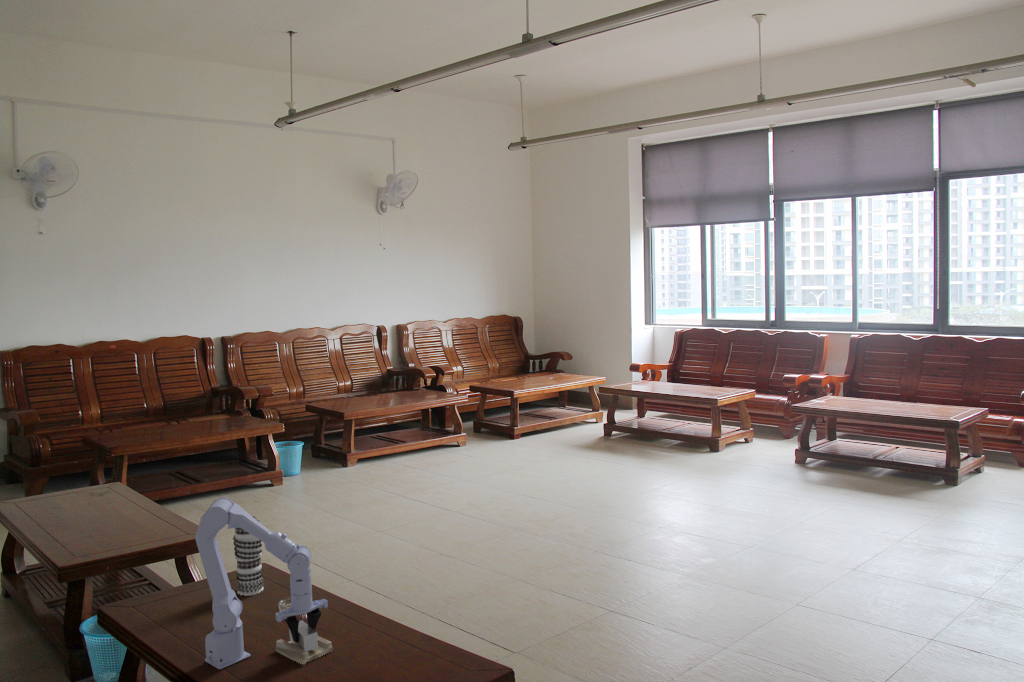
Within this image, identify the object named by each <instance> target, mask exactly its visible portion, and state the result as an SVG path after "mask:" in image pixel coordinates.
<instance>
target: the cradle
mask: <svg viewBox="0 0 1024 682" xmlns="http://www.w3.org/2000/svg"><path fill="white" fill-rule="evenodd" d="M332 644H333V643H332V641H330V640H328V639H326V638H324V637H322V636H320V635H318V648H316V649H313V650H310V651H305V650H303V649H301V648H299V647H298V646H296V645H295V644H294V643H293V642H292V641H291V640H290V639H289V640H288V641H286V640H284V639H283V638H279V639H277V640H276V646H275V648H274V649H275V650H274V651H275V652H276V653H279V654H280V655H282V656H284V657H286V658H288V659H289V660H292V661H293V662H295V661H296V663H297V662H298V663H297V664H299V663H300V665H301V664H302V665H301V666H304V665H306V663H307V662H309V663H311V662H313V661H315V660H317V659H319V658H322V657H324V656H325V654H326V655H328V654H330V653H332V652H334V646H333V645H332ZM329 652H330V653H329ZM327 653H328V654H327ZM323 655H324V656H323ZM321 656H322V657H321ZM318 657H319V658H318ZM316 658H317V659H316ZM314 659H315V660H314ZM312 660H313V661H312ZM310 661H311V662H310ZM303 664H304V665H303ZM307 664H308V663H307Z"/></svg>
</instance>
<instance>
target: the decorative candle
mask: <svg viewBox="0 0 1024 682" xmlns="http://www.w3.org/2000/svg"><path fill="white" fill-rule="evenodd" d="M251 516H252V517H253V518H255V519H256V520H257V521H258V522H260V519H258V518H257V517H256V516H253V515H251ZM234 530H235V532H234V535H233V538H232V540H233V546H234V548H233V550H234V556H235V557H234V559H235V560H236V572H235V575H236V580H237V581H236V589H237V592H236V593H237V595H239V594H240V595H239V596H242V595H244V597H247V596H255V595H257V593H258V594H260V593H262V592H263V591H264V577H263V576H264V574H263V573H264V572H263V571H264V569H263V568H262V567H263V566H262V562H261V561H262V558H261V557H262V555H263V554H262V552H263V550H262V549H261V547H262V546H263V544H262V541H261V540H259V539H257V538H256V537H254V536H253V535H251V534H249V533H248V532H246V531H245V530H243V529H242V528H234ZM261 591H262V592H261Z"/></svg>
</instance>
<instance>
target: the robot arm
mask: <svg viewBox="0 0 1024 682" xmlns="http://www.w3.org/2000/svg"><path fill="white" fill-rule="evenodd" d="M252 516H253V515H251V514H249V513H248V512H247V511H246V510H245V509H244V508H243V507H242V506H240V504H239V503H236V502H235V503H234V501H232V499H230V498H228V497H219V498H217V499H215V500H214V501H212V503H211V504H210V506H209V507H208V508H207V510H206V511H205V512H204V513H203V515H201V517H200V521H199V524H198V526H197V529H196V533H195V535H194V538H195V539H194V540H195V542H196V546H197V549H198V552H199V556H200V559H201V563H202V567H203V570H204V573H205V577H206V580H207V584H208V586H209V589H210V594H211V597H212V606H211V608H212V609H211V610H212V614H213V617H212V621H211V622H212V626H213V628H214V629H213V630H212V631H211V632H210V633H208V634H207V635H206V636H205V639H204V645H205V659H204V661H205V662H206V663H208V664H210V665H211V666H213V667H214V668H216V669H218V670H222V669H224V668H227V667H230V666H231V665H234V664H236V663H238V662H241V661H243V660H245V659H247V658H250V657H251V654H250V653H249V652H247V651H245V647H244V645H245V644H244V628H243V627H244V626H243V621H242V620H241V617H240V616H241V614H242V612H243V608H244V607H243V602H242V601H241V600H240V599H239V598H238V597H237V594H236V592H235V591H234V590H233V588H232V586H231V583H230V579H229V577H228V573H227V570H226V565H225V562H224V559H223V556H222V551H221V548H220V546H219V542H218V538H217V535H218V533H219V532H220V530H222V529H223V528H224V527H226V526H227V525H228V526H227V529H228V530H230V529H235V528H242V529H243V530H245V531H246V532H248V533H249V534H251V535H253V536H254V537H256V538H257V539H259V540H261V543H262V542H263V543H264V548H265V550H266V551H267V552H269V553H270V554H271V555H273V556H274V557H275V558H277V559H278V560H280V562H281V561H282V562H283V563H285V564H286V565H287V569H288V570H289V573H290V575H289V585H290V586H289V587H290V603H291V606H289V607H288V608H286V609H283V610H281V611H278V612H275V621H277V622H278V623H281V622H283V621H285V624H286V625H287V626H288V630H289V629H290V631H291V634H292V637H293V641H294V642H295V643H297V642H298V640H299V637H298V625H299V621H300V620H298V619H297V616H300V615H305V614H306V619H307V620H306V621H307V624H308V625H309V626H310V627H311V628H313V629H314V630H315V631H316V629H317V625H318V622H319V620H320V618H321V616H322V612H321V611H320V609H323V608H324V609H327V608H328V607H329V604H328V603H329V601H328V599H325V598H322V599H317V600H313V589H312V588H313V586H312V574H311V571H312V570H311V563H310V562H311V560H312V554H311V551H310V549H308V547H307V546H305V545H301V544H300V543H296V542H294V540H293V541H292V540H291V539H290V538H288V534H287V533H285V532H283V533H281V532H280V531H274V532H273V531H271V530H270V529H268V527H266V526H264V524H263V523H261V522H260V521H259V522H258V521H257V520H256V519H255V518H253V517H252Z"/></svg>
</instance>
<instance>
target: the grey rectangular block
mask: <svg viewBox="0 0 1024 682" xmlns="http://www.w3.org/2000/svg"><path fill="white" fill-rule="evenodd" d="M298 621H299V625H298V637H299V640H298V642H297V643H295V642H294V641H293V637H292V634H291V631H290V629H289V628H288V632H289V635H288V636H289V641H290V640H291V641H292V642H293V643H294V644H295V645H296V646H298V647H299V648H301V649H303V650H305V651H310V650H313V649H316V648H318V636H319V635H318V631H317V630H316V629H315V630H314V629H313V628H311V627H310V626H309V625H308V623H306V622H305V621H304V620H302V619H301V620H298Z"/></svg>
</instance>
